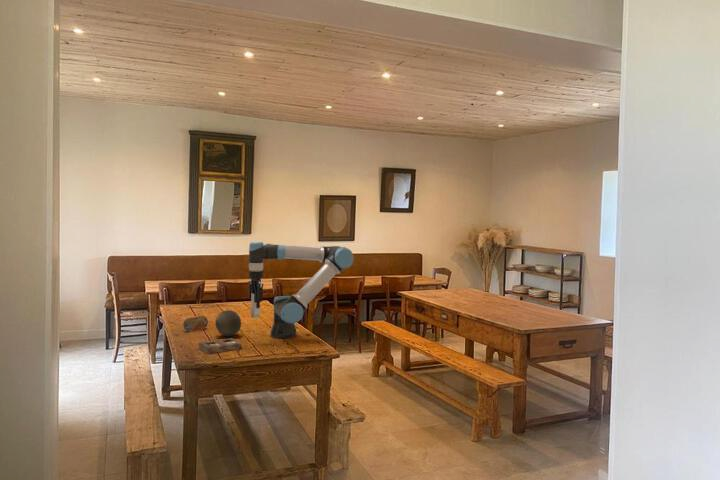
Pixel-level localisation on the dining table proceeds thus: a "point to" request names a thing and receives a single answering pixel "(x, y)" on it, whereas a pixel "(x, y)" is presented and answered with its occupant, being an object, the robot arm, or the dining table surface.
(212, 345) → the socket board
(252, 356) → the dining table surface
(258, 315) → the plug
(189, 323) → the tin
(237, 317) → the dark grey round ball
